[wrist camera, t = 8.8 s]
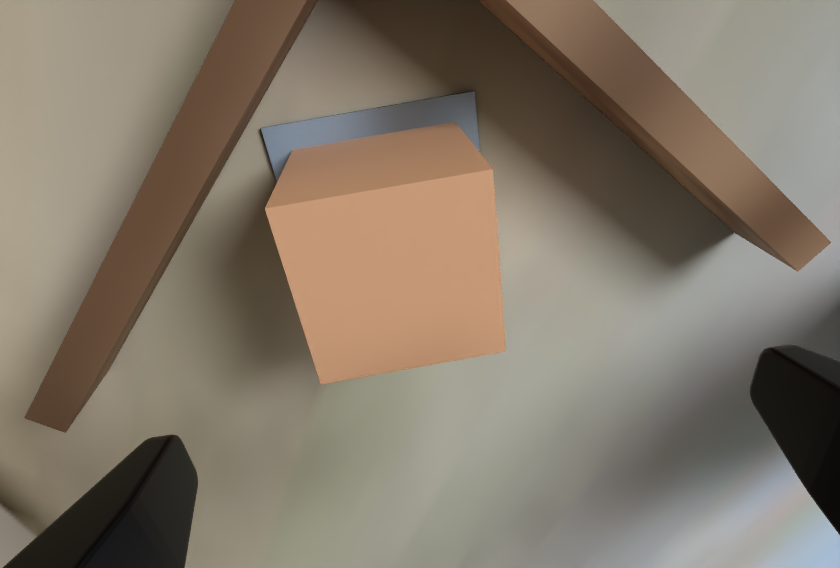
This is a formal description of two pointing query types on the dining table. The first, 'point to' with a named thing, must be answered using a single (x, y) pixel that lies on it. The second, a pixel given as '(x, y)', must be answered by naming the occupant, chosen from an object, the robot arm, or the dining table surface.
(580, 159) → the dining table surface
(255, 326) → the dining table surface
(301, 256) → the cube
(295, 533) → the dining table surface
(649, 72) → the arena
